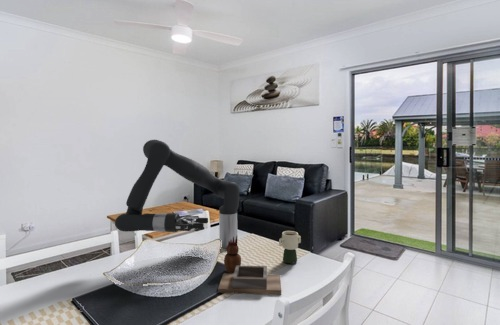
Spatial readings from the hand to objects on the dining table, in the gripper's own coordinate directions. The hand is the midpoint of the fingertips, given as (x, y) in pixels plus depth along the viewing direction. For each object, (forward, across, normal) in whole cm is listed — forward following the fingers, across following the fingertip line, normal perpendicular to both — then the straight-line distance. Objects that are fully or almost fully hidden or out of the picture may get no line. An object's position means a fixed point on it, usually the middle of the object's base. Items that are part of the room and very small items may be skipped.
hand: (205, 223), depth 116 cm
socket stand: (+19, -11, +20) cm, 30 cm away
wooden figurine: (+11, 0, +20) cm, 23 cm away
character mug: (+35, +11, +20) cm, 42 cm away
